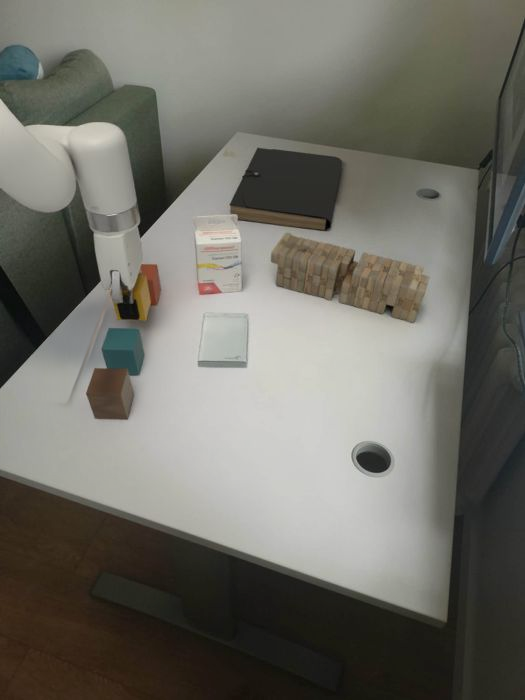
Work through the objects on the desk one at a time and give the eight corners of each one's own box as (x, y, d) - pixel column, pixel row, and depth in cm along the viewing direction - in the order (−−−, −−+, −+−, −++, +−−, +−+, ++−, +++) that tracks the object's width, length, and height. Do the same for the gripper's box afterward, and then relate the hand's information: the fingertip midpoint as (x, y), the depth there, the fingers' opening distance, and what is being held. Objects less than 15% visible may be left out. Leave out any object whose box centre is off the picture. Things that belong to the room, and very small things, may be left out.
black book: (256, 146, 137) (343, 156, 135) (256, 160, 140) (341, 171, 138) (228, 203, 114) (332, 217, 112) (228, 219, 117) (329, 233, 115)
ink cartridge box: (199, 296, 97) (193, 229, 86) (197, 280, 100) (191, 215, 90) (242, 292, 98) (242, 226, 87) (239, 277, 101) (238, 212, 91)
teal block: (108, 374, 81) (101, 349, 77) (115, 353, 85) (108, 327, 81) (138, 375, 81) (133, 350, 77) (144, 354, 85) (139, 328, 81)
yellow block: (146, 320, 85) (140, 293, 81) (117, 320, 85) (110, 292, 81) (151, 302, 88) (146, 275, 84) (123, 301, 88) (116, 274, 84)
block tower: (419, 303, 98) (282, 263, 105) (432, 268, 92) (286, 228, 99) (412, 327, 93) (268, 283, 99) (425, 292, 87) (271, 248, 93)
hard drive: (246, 361, 82) (248, 312, 91) (197, 360, 82) (203, 311, 91) (246, 368, 83) (248, 319, 92) (197, 367, 83) (204, 318, 92)
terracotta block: (130, 305, 94) (125, 279, 90) (135, 288, 98) (130, 263, 93) (156, 305, 94) (152, 280, 90) (161, 289, 98) (157, 264, 93)
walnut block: (94, 418, 75) (85, 393, 71) (102, 393, 79) (94, 367, 74) (127, 419, 75) (120, 394, 71) (134, 394, 79) (127, 368, 74)
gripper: (101, 185, 79) (122, 277, 92) (71, 245, 67) (100, 340, 80) (148, 186, 79) (162, 278, 92) (126, 246, 67) (146, 341, 80)
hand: (133, 306), depth 86 cm, fingers closed on yellow block, 5 cm apart
